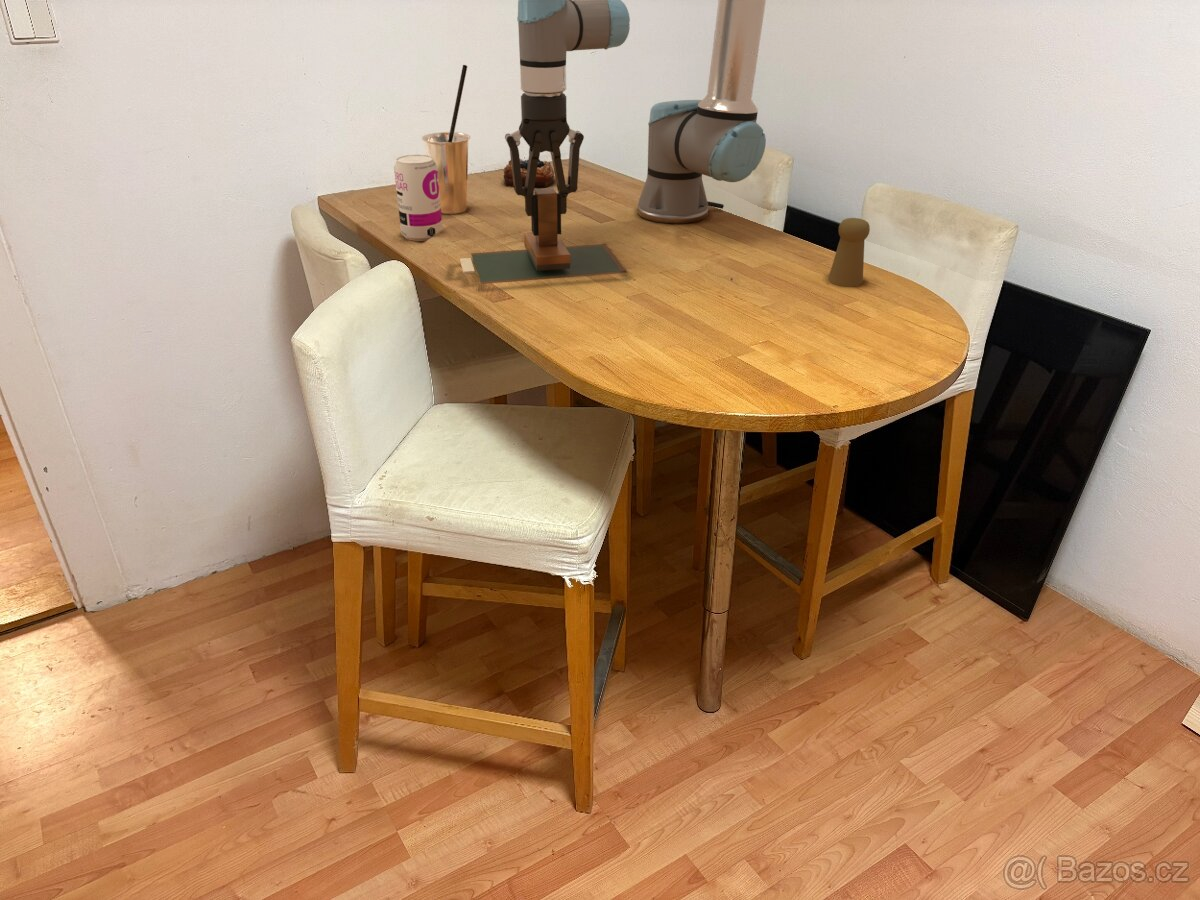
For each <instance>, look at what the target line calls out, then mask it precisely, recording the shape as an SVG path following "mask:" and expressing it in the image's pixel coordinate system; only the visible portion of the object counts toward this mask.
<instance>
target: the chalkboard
mask: <svg viewBox="0 0 1200 900" xmlns="http://www.w3.org/2000/svg"><path fill="white" fill-rule="evenodd" d="M565 247H566V249H567V250H568V252H569V253H570V269H556V270H543V271H537V270H536V268H535V266H534V264H533V262H532V260H531V258H530V256H529V254H528V252H527V250H526V249H513V250H499V251H485V252H470V254H471V259H472V262H473V265H474V266H475V269H476V272H477V275H478V278H479V281H480V283H481V285H486V284H498V283H499V284H500V283H512V282H525V281H538V280H550V279H551V280H552V279H563V278H576V277H589V276H590V277H591V276H601V275H602V276H603V275H616V274H627V273H628V271H627V269H626V268H625V267H624V265H623V264H622V263H621V262H620V260H618V258H617V256H616V255H615V254H614V253H613V251H612V250H611V249H610V248H609V246H608V245H607V244H606V243H601V244H586V245H571V246H569V245H568V246H565Z"/></svg>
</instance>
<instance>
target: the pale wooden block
mask: <svg viewBox="0 0 1200 900" xmlns="http://www.w3.org/2000/svg"><path fill="white" fill-rule="evenodd" d="M459 263H460V267H461V270H462V273H463V275H470V274H475V273H476V271H475V267H474V263H473V260H472V257H462V258H459Z"/></svg>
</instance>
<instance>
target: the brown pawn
mask: <svg viewBox="0 0 1200 900" xmlns="http://www.w3.org/2000/svg"><path fill="white" fill-rule="evenodd" d="M870 231H871V228H870V224H869V222H868V221H867V220H866V219H863V218H858V217H847V218H845V219H843V220H842V221H840V223H839V225H838V235H839V237H840V238H839V242H838V244H837V248H836V251H835V255H834V257H833V260H832V264H831V267H830V271H829V274H828V277H827V279H828V280H827V281H829V283H832V284H834V285H836V286H840V287H847V288H849V287H853V288H854V287H859V286H861V285H862V284H863V282H864V262H865V261H864V259H865V240H866V239H867V238H868V237H869V234H870Z"/></svg>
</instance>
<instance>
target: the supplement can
mask: <svg viewBox="0 0 1200 900" xmlns="http://www.w3.org/2000/svg"><path fill="white" fill-rule="evenodd" d="M395 160H396V161H395V164H394V166H393V172H394V180H395V190H396V199H397V207H398V216H399V225H400V233H401V235H402V236H403V237H404V238H405V239H406V240H408V241H413V242H427V241H429V240H430V239H432V238H433V237H434V236H436V235H437V234H440V233H441V232H442V231H443V230H444V228H443V219H442V218H443V217H442V213H441V205H440V193H439V181H438V170H437V165H436V163H435V162H434V160H433V157H431V156H427V154H406V155H401V156H399V157H397V158H396V159H395Z"/></svg>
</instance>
